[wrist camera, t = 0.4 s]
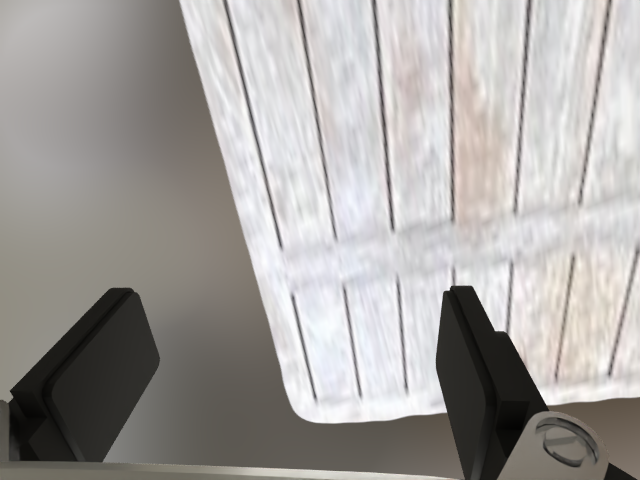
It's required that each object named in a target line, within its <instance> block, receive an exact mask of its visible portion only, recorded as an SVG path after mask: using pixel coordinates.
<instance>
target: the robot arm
mask: <svg viewBox="0 0 640 480" xmlns="http://www.w3.org/2000/svg"><path fill="white" fill-rule="evenodd" d="M159 361H160V357H159V353H158V350H157V348H156V345H155V341H154V338H153V335H152V333H151V329H150V326H149V323H148V320H147V317H146V314H145V311H144V308H143V306H142V302H141V299H140V296H139V295H138V293H136V292H134V291H133V289H131V288H111V289H109V290H108V291H107V292H106V293H105V294H104V295H103V296H102V297H101V298H100V299H99V300H98V301H97V302H96V303H95V304H94V305H93V306H92V307H91V308H90V309H89V310H88V311H87V312H86V313H85V314H84V316H82V317H81V318H80V320H79V321H78V322H77V323H76V324H75V325H74V326H73V327H72V328H71V329H70V330H69V331H68V332H67V333H66V334H65V335H64V336H63V337H62V338H61V339H60V340H59V341H58V342H57V343H56V344H55V345H54V346H53V347H52V348H51V349H50V350H49V351H48V352H47V353H46V354H45V355H44V356H43V357H42V358H41V360H39V362H38V363H37V364H36V365H35V366H34V367H33V368H32V369H31V370H30V371H29V372H28V373H27V374H26V375H25V376H24V377H23V378H22V379H21V380H20V381H19V382H18V383H17V384H16V385H15V386H14V387H13V388H12V389H11V390H10V392H11V394H12V395H13V397H14V398H13V399H12V400H11V401H10V402H9V403H7V402H6V401H4V400H0V480H461V479H451V478H442V477H433V476H418V475H402V474H401V475H400V474H385V473H368V472H346V471H345V472H344V471H322V470H299V469H297V470H296V469H275V468H249V467H248V468H247V467H222V466H221V467H220V466H194V465H166V464H135V463H133V464H131V463H102V462H103V460H104V458H105V457H106V455H107V453H108V451H109V450H110V448H111V446H112V445H113V443H114V441H115V440H116V438H117V436H118V434H119V433H120V431H121V429H122V428H123V426H124V424H125V423H126V421H127V419H128V418H129V416H130V414H131V412H132V411H133V409H134V407H135V406H136V404H137V402H138V401H139V399H140V397H141V395H142V394H143V392H144V390H145V389H146V387H147V385H148V384H149V382H150V380H151V379H152V377H153V375H154V374H155V372H156V370H157V368H158V366H159ZM436 370H437V374H438V378H439V382H440V386H441V390H442V393H443V397H444V401H445V405H446V409H447V413H448V416H449V420H450V424H451V428H452V431H453V435H454V439H455V443H456V447H457V450H458V454H459V458H460V462H461V466H462V470H463V473H464V477H465V480H637V479H635V478H634V477H632V476H631V475H629V474H627V473H626V472H624V471H622V470H621V469H619V468H617V467H616V466H614V465H612V464H611V463H609V454H608V451H607V449H606V446H605V444H604V443H603V442H602V440H601V438H600V437H599V436H598V434H596V433H595V432H594V431H593V430H592V429H591V428H590V427H589V426H588V425H586V424H584V423H583V422H581V421H580V420H578V419H577V418H574V417H572V416H569V415H567V414H564V413H560V412H554V411H549V409H548V408H547V406H546V404H545V402H544V400H543V398H542V397H541V395H540V393H539V391H538V389H537V387H536V385H535V384H534V382H533V380H532V378H531V376H530V374H529V372H528V371H527V369H526V367H525V365H524V363H523V361H522V359H521V358H520V356H519V354H518V352H517V350H516V348H515V346H514V345H513V343H512V341H511V339H510V337H509V336H508V334H507V333H505V332H504V331H495V330H494V328H493V326H492V324H491V322H490V320H489V318H488V316H487V314H486V312H485V310H484V308H483V306H482V304H481V302H480V300H479V298H478V296H477V294H476V292H475V290H474V288H473V287H472V286H451V288H450V291H444V293H443V300H442V308H441V317H440V326H439V335H438V344H437V353H436Z"/></svg>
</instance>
